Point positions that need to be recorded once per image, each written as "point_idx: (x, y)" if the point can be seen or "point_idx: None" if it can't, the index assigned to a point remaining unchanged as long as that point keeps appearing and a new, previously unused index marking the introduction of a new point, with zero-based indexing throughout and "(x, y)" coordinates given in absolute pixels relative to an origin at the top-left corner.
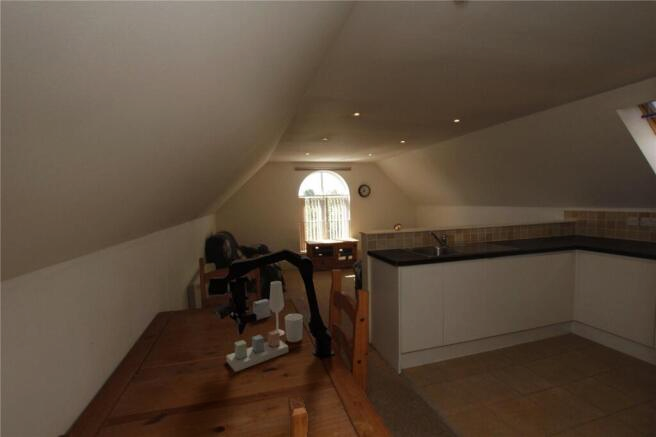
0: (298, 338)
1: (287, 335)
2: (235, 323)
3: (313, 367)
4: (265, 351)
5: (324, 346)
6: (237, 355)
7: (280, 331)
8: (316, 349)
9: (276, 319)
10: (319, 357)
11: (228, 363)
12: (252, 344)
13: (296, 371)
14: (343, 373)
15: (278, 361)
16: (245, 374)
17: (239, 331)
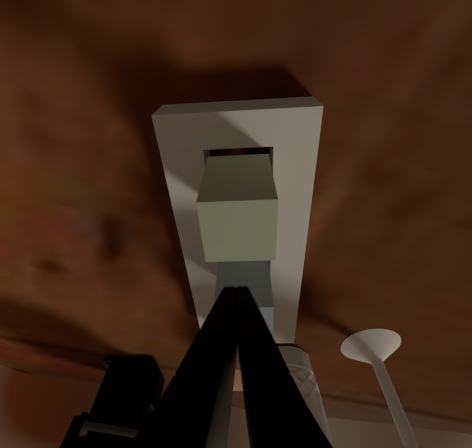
0: None
1: (287, 366)
2: (286, 419)
3: (69, 331)
4: (213, 281)
5: (93, 404)
6: (219, 163)
7: (358, 358)
8: (132, 377)
9: (396, 410)
10: (114, 358)
11: (280, 98)
12: (264, 270)
13: (62, 295)
14: (13, 359)
15: (158, 281)
16: (112, 144)
17: (204, 322)
